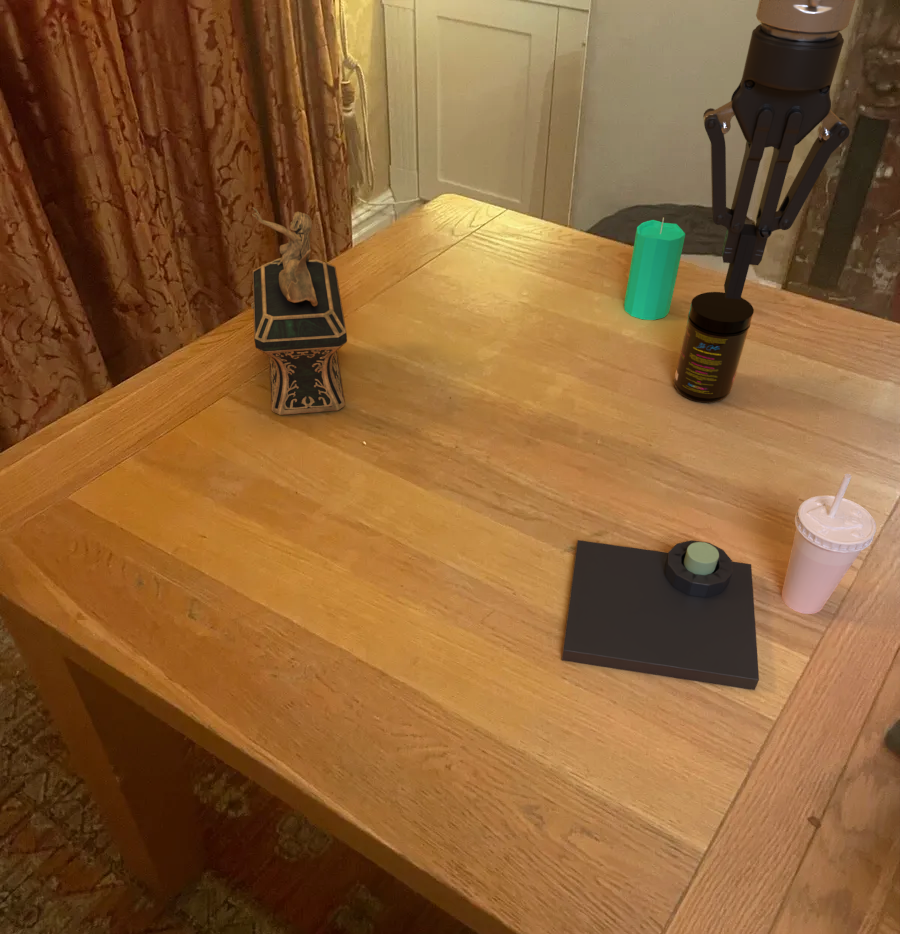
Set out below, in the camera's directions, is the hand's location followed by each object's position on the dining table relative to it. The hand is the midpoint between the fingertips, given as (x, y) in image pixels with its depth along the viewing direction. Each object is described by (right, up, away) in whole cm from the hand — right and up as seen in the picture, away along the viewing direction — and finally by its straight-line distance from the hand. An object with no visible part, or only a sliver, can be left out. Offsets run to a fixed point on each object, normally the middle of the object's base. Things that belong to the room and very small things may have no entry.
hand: (732, 292), depth 93 cm
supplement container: (0, -7, +13) cm, 15 cm away
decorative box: (-46, -7, +11) cm, 48 cm away
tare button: (-7, -28, -12) cm, 31 cm away
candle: (-3, +7, +26) cm, 28 cm away
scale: (-10, -33, -13) cm, 37 cm away
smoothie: (+3, -32, -11) cm, 34 cm away
